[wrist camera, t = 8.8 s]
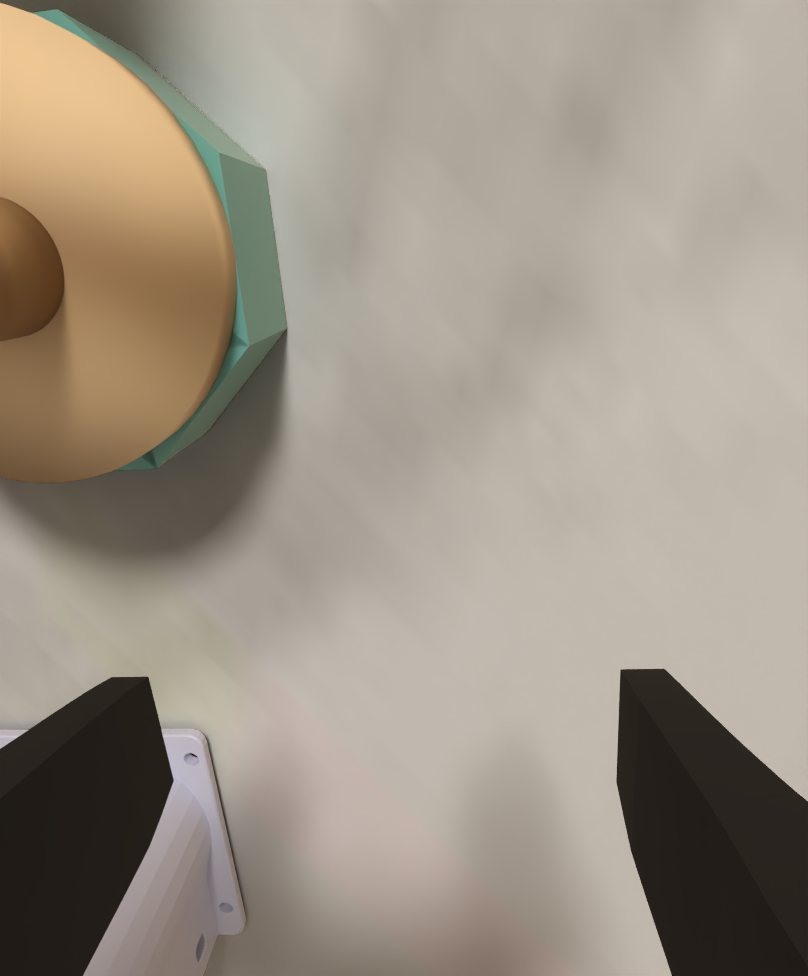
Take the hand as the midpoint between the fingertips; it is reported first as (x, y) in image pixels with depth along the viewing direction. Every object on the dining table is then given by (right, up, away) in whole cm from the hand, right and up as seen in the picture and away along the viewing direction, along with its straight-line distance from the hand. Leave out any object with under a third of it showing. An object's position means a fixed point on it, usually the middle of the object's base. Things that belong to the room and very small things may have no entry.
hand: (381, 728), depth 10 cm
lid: (-8, +9, +5) cm, 13 cm away
